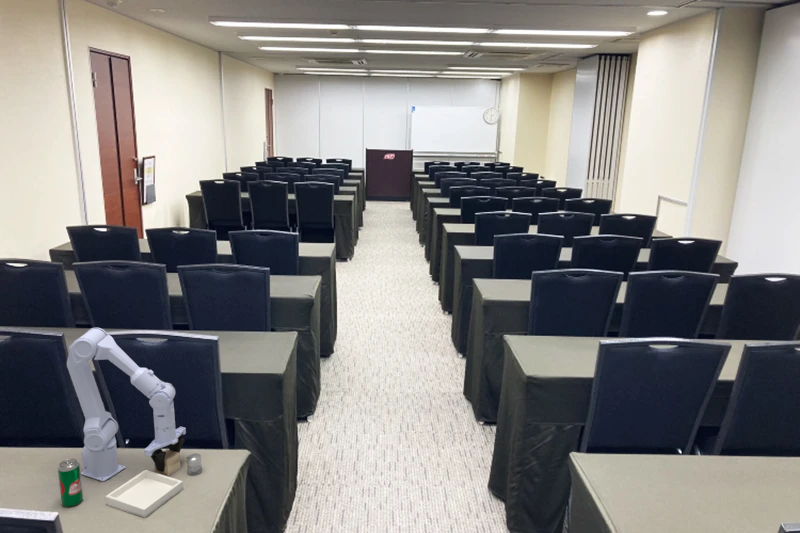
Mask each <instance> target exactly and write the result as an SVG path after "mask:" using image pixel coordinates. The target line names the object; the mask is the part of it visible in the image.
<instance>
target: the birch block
mask: <svg viewBox="0 0 800 533" xmlns="http://www.w3.org/2000/svg"><path fill="white" fill-rule="evenodd" d="M163 451H164V452H167V453H166V456H165V461H164V464H165V468H164V471H163V472H161V471H158V470H157V468H156V465H155V464H154V472H155V473H158V474H161V475H165V476H168V477H170V476H171V475H172V474H174V473H175V472H177V471H178V470H179V469H181V456H180V453H178V452H175V451H171V450H169V448H167V449H166V448H165V450H163Z"/></svg>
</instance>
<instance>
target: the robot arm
mask: <svg viewBox="0 0 800 533" xmlns="http://www.w3.org/2000/svg"><path fill="white" fill-rule="evenodd" d="M68 351H69V352H68V355H67V360H66V368H67V370H68V373H69V376H70V379H71V382H72V386H73V387H74V391H75V393H76V397H77V398H78V401H79V405H80V408H81V411H82V413H83V416H84V419H85V421H84V425H83V433H84V437H83V444H84V446H83V448H82V451H81V462H82V471H80V475H83V476H85V477H89V478H91V479H94V480H97V481H100V482H106V481H107V480H109V479H111V478H112V477H113V476H115V475H117V474H118V473H120V472H121V471H124V470H125V469H126V466H125V465H123V464H122V465H121V464H119V461H118V460H119V459H118V458H119V457H118V449H117V439H116V436H115V435H116V434H117V432H118V431H119V424H118V422H117V420H115V419H114V418H113V416H112V413H111V412H109V411H106V409H105V408H106V407H105V405H104V402H103V399H102V397H101V394H100V390H99V388H98V385H97V382H96V379H95V376H94V373H93V370H92V368H91V365H90V362H91V361H92V360H95V361H100V360H101V361H102V360H103V361H104V360H108V361H109V362H110V363H112V364H113V365H114V366H116V367H117V368H119V369H120V370H121V371H122V372H123V373H125V374H126V375H128V376H129V377H130V378H129V379H130V383H131V385H132V386H134V387H135V389H137V390H138V391H140V392H141V393H142V394H143V395H144V396H145V397H147V399H149V401H148V403H149V405H150V407H151V408H152V410H153V424H154V439H153V440H152V441H151V442H150V444H149V445H148V446H147V447H145V448H144V456H146V457H150V458H151V460H152V461H153V463H154V466H155V465H156V468H157V470H158V471H161V472H163V471H164V468H165V464H164V461H165V456H166V453H167V452H164V451H165V450H163V449H162V448H164V447H167V446H168V450H171V451H175V452H178V453H180V452H181V449H182V447H183V445H184V443H185V438H184V437H182V436H184V435H186V433H187V430H186V427H183V426H179V427H177V428H176V420H175V419H176V418H175V416H176V415H175V406H174V398H175V396H176V389H175V387H174V386H173V384H172V383H170V382H165V381H163V380H161V379H159V377H157V376H156V375H155V374H154V371H153V370H152V369H148V368H147V367H140V366H139V365H137V363H136V362H135V361H134V360H133V359H132V358H131V357H130V356H129V355H128V354H127V353H126V352H125V351H124V350H123V349H122V348H121V347H120V346H119V345H118V344H117V343H116V341H115V339H114V338H113V337H112V336H111V335H110V334H108V332H107V331H105V329H103V328H100V327H92V328H90V329H88V330H87V331H86V332H85V333H84V334H83V335H82V336H80V337H78V338H76V339H75V340H74V341H73V342H72V343H71V345H70V346H69V347H68ZM93 358H94V359H93Z"/></svg>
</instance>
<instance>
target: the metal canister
mask: <svg viewBox="0 0 800 533" xmlns="http://www.w3.org/2000/svg"><path fill="white" fill-rule="evenodd" d="M186 465H187V466H186V467H187V468H186V470H187V475H188V476H190V477H192V476H193V477H194V476H195V477H196V476H199V474H200V475H201V473H202V455H201V454H200V453H192V454H189V455H188V456H186Z"/></svg>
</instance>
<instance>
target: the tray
mask: <svg viewBox="0 0 800 533" xmlns="http://www.w3.org/2000/svg"><path fill="white" fill-rule="evenodd" d="M183 490H184V482H183V480H180V479H177V478H174V477H170V476H166V475H163V474H159V473H156V472H155V471H151V470H148V469H145V470H142V471H141V472H140V473H138V474H137V475H135V476H134V477H132V478H131V479H129V480H128V481H126V482H124V483H123V484H122V485H120V486H118V487H117V488H116V489H114V490H113V491H111V492H110V493H108V494H107V495H105V499H104V500H105V505H106V506H109V507H113V508H115V509H118V510H121V511H124V512H127V513H129V514H133V515H135V516H138V517H141V518H144V519H146V518H147V517H149V516H150V515H151V514H152V513H154V512H155V511H156V510H158V509H159V508H160V507H161V506H163V505H164V504H165V503H167V502H168V501H169V500H171V499H173V497H175V496H176V495H177V494H178V493H180V492H181V491H183Z"/></svg>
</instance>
